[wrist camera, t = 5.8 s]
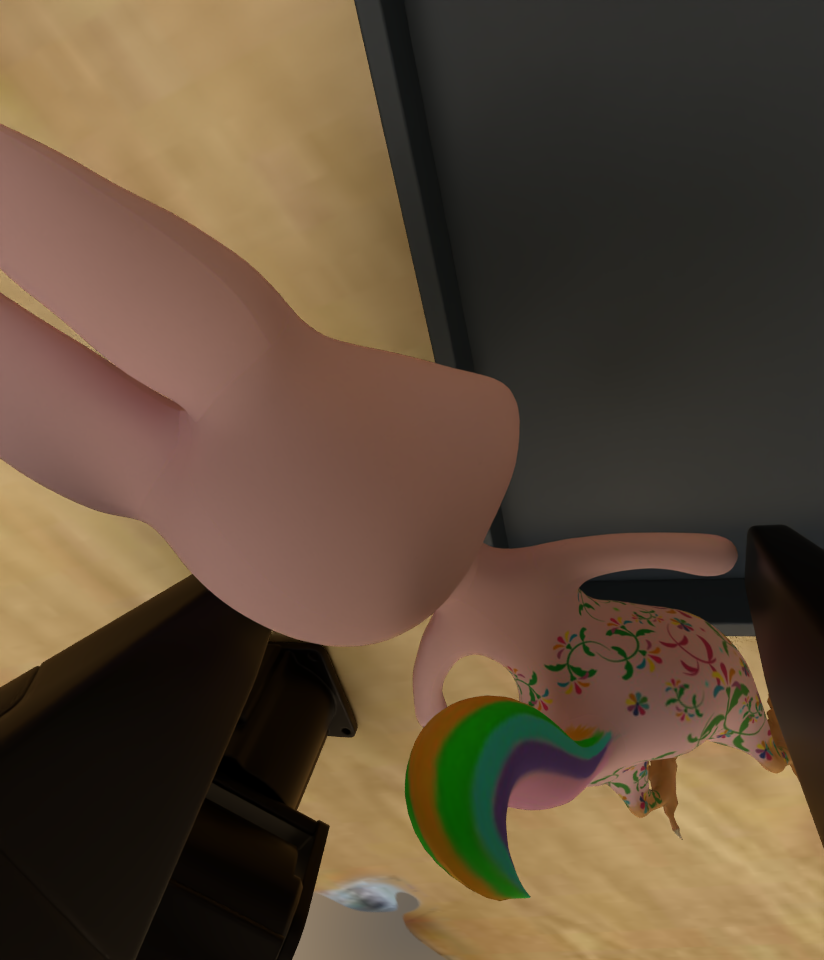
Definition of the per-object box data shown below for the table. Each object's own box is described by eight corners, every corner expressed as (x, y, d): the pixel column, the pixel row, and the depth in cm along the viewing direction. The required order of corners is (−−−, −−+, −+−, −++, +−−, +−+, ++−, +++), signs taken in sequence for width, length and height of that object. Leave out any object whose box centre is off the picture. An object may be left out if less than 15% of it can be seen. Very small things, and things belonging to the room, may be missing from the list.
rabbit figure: (844, 590, 11) (56, -136, 6) (1110, 1019, 6) (-1444, -656, 1) (579, 714, 14) (-72, 310, 9) (623, 1057, 10) (-638, 608, 5)
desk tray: (974, 580, 19) (1023, 640, 17) (503, 586, 24) (495, 634, 22) (1282, -498, 9) (1497, -682, 7) (362, -104, 14) (321, -141, 12)
